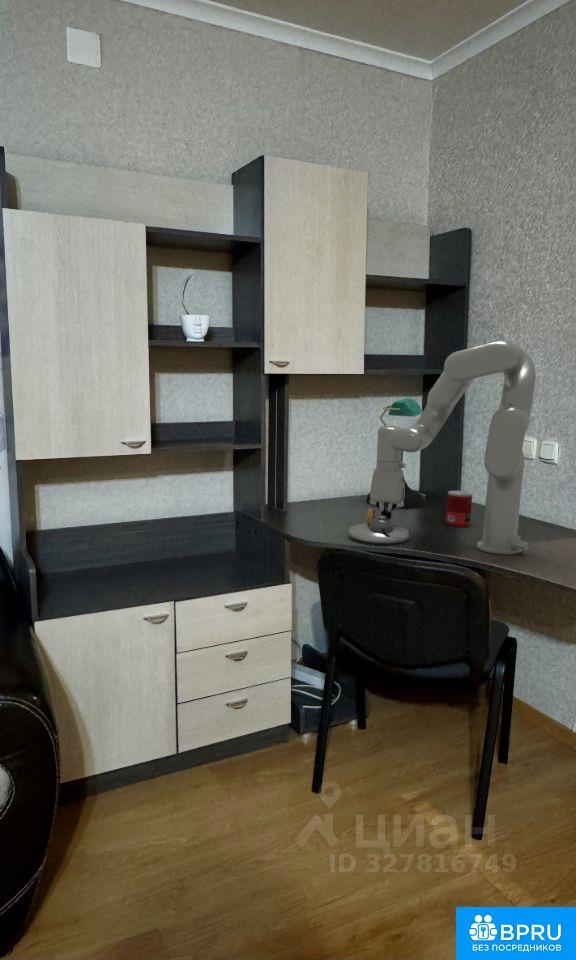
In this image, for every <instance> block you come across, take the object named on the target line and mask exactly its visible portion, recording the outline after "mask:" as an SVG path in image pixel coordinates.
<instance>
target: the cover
mask: <svg viewBox="0 0 576 960" xmlns="http://www.w3.org/2000/svg"><path fill="white" fill-rule="evenodd" d="M393 525H394V519H393V518H392V517H391V518H388V517H386V516H385V515H381V514H379V515H378V516H375V517H372V518H370V531H372V532H376V533H391V532H393Z"/></svg>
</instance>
